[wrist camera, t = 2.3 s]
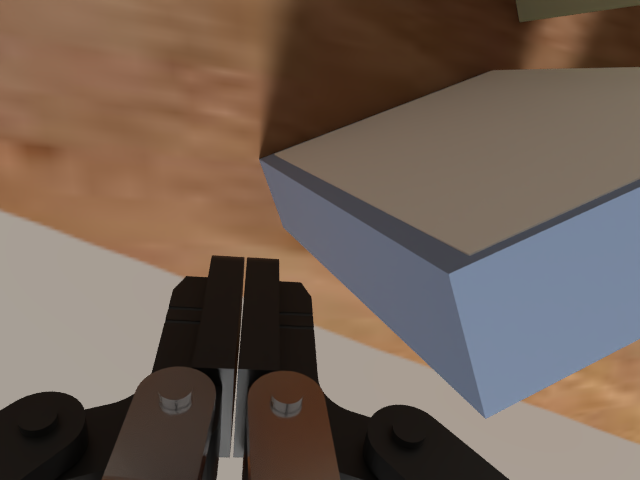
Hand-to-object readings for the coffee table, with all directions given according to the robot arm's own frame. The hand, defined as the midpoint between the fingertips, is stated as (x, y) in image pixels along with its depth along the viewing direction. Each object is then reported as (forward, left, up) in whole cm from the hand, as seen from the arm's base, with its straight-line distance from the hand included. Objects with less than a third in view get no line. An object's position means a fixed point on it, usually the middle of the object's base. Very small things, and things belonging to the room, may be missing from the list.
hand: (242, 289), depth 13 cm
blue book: (+4, +13, -21) cm, 25 cm away
